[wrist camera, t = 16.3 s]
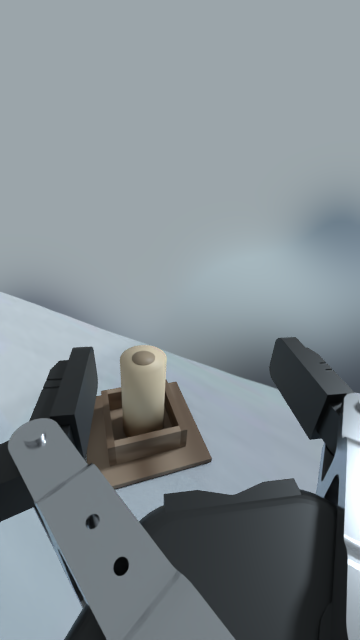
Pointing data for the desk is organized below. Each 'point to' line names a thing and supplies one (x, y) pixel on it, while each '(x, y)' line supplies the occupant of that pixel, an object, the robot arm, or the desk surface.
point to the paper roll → (143, 389)
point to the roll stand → (144, 441)
